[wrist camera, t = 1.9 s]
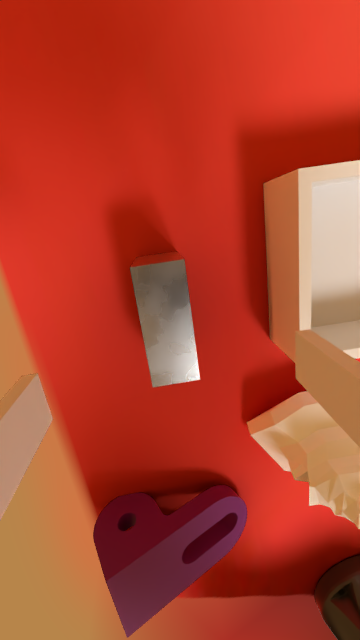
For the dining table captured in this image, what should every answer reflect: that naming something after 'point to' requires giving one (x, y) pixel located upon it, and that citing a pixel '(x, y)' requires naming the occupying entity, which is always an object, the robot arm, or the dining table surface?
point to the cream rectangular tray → (314, 255)
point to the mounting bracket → (163, 548)
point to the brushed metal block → (165, 317)
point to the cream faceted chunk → (313, 452)
